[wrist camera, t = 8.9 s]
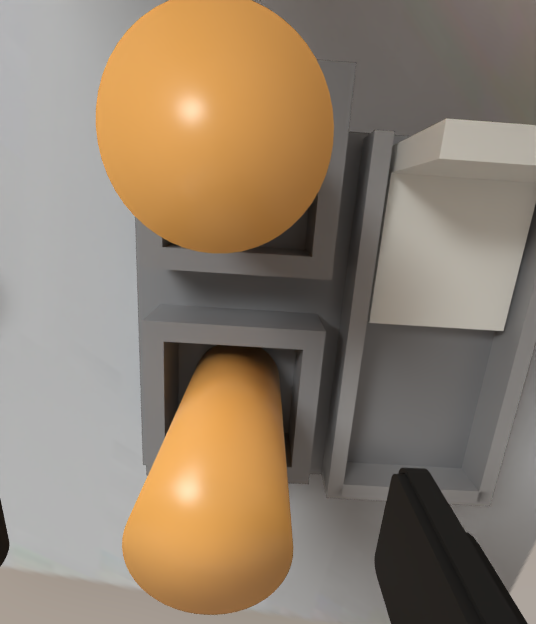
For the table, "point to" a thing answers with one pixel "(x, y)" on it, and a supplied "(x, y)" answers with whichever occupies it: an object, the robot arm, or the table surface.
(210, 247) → the housing
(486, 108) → the table surface
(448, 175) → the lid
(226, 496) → the peg
